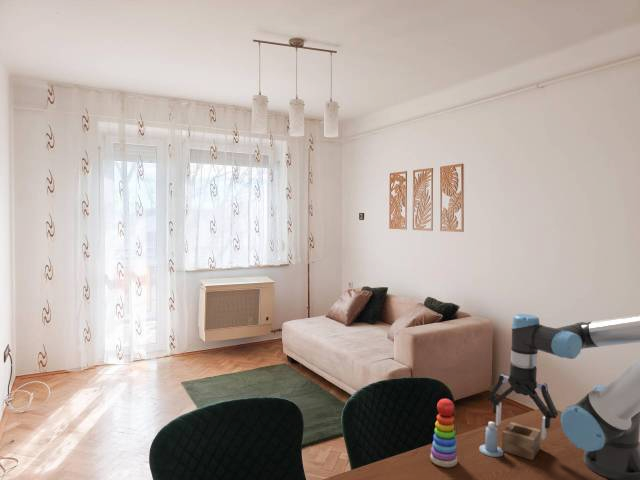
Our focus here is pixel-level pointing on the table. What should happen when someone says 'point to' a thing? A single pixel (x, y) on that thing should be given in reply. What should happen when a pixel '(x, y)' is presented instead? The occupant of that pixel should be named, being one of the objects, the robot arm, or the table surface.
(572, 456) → the table surface
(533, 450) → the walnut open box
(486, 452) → the pale blue pawn
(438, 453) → the stacking toy
